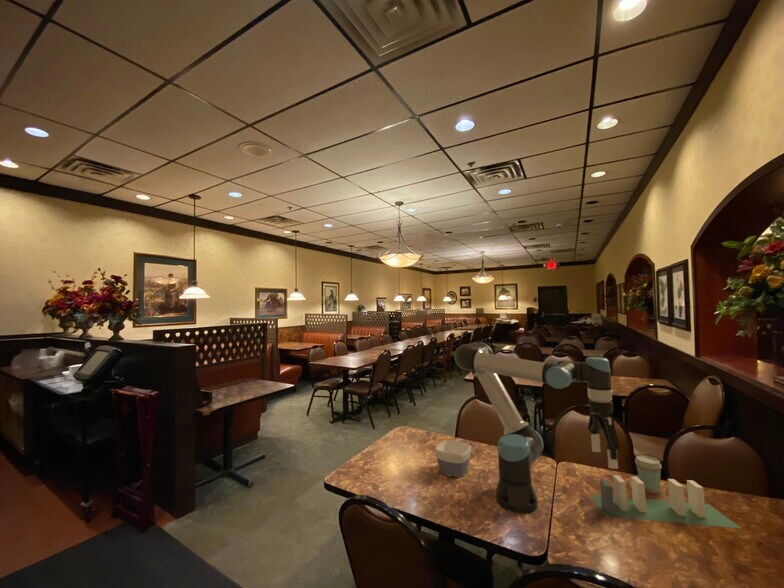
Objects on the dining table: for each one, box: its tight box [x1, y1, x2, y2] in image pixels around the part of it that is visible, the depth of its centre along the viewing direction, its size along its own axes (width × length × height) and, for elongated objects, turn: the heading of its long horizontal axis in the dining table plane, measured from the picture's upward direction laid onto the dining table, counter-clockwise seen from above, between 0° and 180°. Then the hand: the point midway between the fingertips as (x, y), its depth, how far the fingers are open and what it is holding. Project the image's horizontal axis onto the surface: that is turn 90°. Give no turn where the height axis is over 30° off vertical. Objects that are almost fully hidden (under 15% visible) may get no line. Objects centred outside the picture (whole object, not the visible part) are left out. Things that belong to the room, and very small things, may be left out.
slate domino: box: [599, 478, 614, 517], centre depth 115 cm, size 2×5×10 cm, turn 168°
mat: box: [589, 494, 742, 529], centre depth 115 cm, size 40×14×1 cm, turn 78°
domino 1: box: [612, 474, 628, 511], centre depth 118 cm, size 2×5×10 cm, turn 168°
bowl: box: [434, 439, 472, 478], centre depth 149 cm, size 15×15×11 cm
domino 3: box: [667, 478, 686, 516], centre depth 114 cm, size 2×5×10 cm, turn 168°
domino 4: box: [686, 479, 706, 518], centre depth 113 cm, size 2×5×10 cm, turn 168°
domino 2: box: [630, 476, 647, 513], centre depth 117 cm, size 2×5×10 cm, turn 168°
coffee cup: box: [634, 455, 663, 494], centre depth 129 cm, size 8×8×12 cm
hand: (604, 459), depth 116 cm, fingers open, 13 cm apart
